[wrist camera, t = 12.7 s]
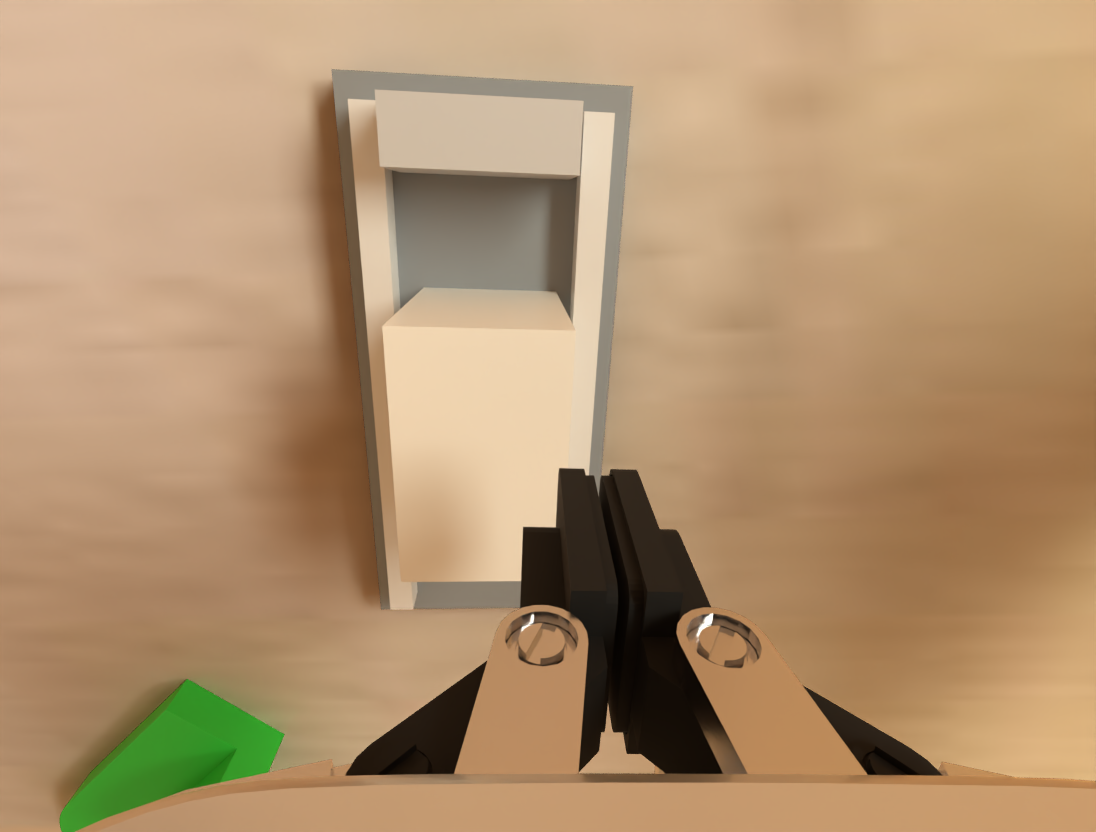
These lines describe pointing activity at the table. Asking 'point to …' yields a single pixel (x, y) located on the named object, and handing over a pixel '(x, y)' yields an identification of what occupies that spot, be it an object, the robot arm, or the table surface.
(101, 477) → the table surface
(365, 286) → the rail plate
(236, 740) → the mechanical part
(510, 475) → the block
